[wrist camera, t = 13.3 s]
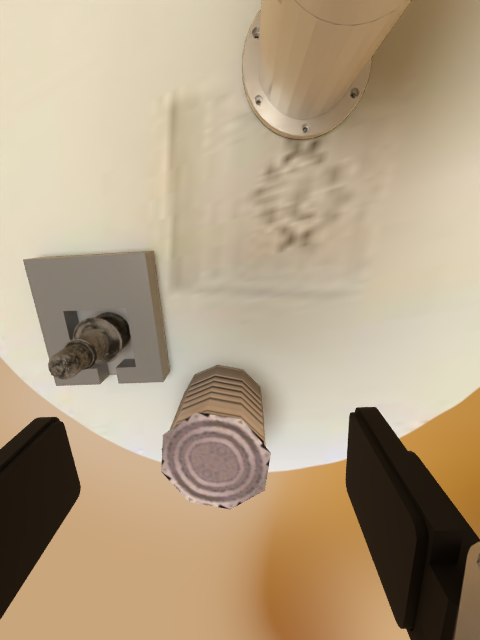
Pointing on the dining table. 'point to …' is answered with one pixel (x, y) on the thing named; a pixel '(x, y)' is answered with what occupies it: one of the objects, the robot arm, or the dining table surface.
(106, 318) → the dark chess piece
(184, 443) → the can
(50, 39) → the dining table surface
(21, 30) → the dining table surface
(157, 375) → the plate
